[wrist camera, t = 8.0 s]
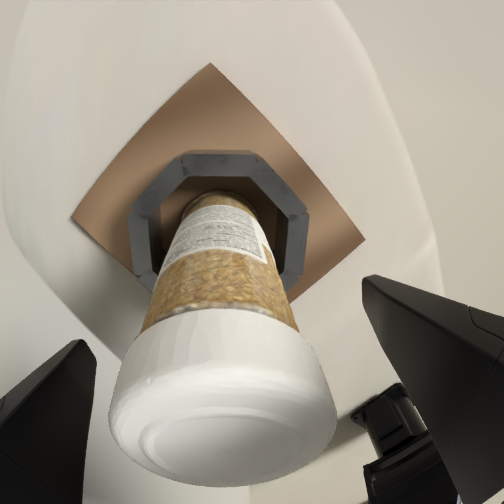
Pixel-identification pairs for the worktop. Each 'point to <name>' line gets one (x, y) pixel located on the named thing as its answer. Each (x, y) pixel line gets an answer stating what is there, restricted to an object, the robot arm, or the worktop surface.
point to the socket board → (221, 138)
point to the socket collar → (218, 164)
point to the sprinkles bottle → (221, 361)
